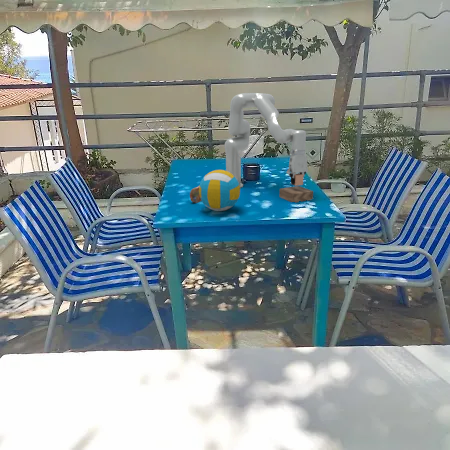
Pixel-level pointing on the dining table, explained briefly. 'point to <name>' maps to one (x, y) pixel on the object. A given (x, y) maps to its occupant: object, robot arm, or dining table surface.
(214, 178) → the volleyball
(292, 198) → the walnut block
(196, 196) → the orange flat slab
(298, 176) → the terracotta block
